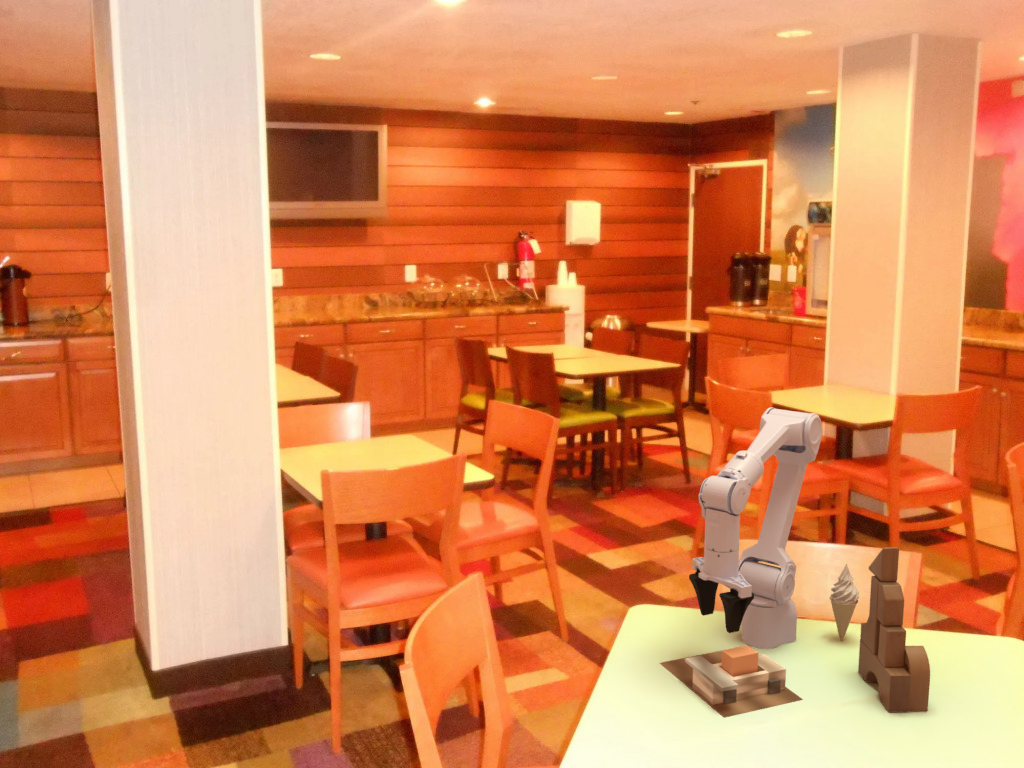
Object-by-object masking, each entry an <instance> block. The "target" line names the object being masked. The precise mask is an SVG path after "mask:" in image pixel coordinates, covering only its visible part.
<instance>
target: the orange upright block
mask: <svg viewBox="0 0 1024 768" xmlns="http://www.w3.org/2000/svg"><path fill="white" fill-rule="evenodd" d="M721 651H722V667H721V668H722V669H723V670H725V671H726V672H727V673H729V674H730V675H731V676H733V677H736V676H741V675H746V674H751V673H755V672H758V655H759V652H758V651H757V650H755V649H753V647H752V646H749V645H747V644H746V645H742V646H737V647H733V648H727V649H723V650H721Z"/></svg>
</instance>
